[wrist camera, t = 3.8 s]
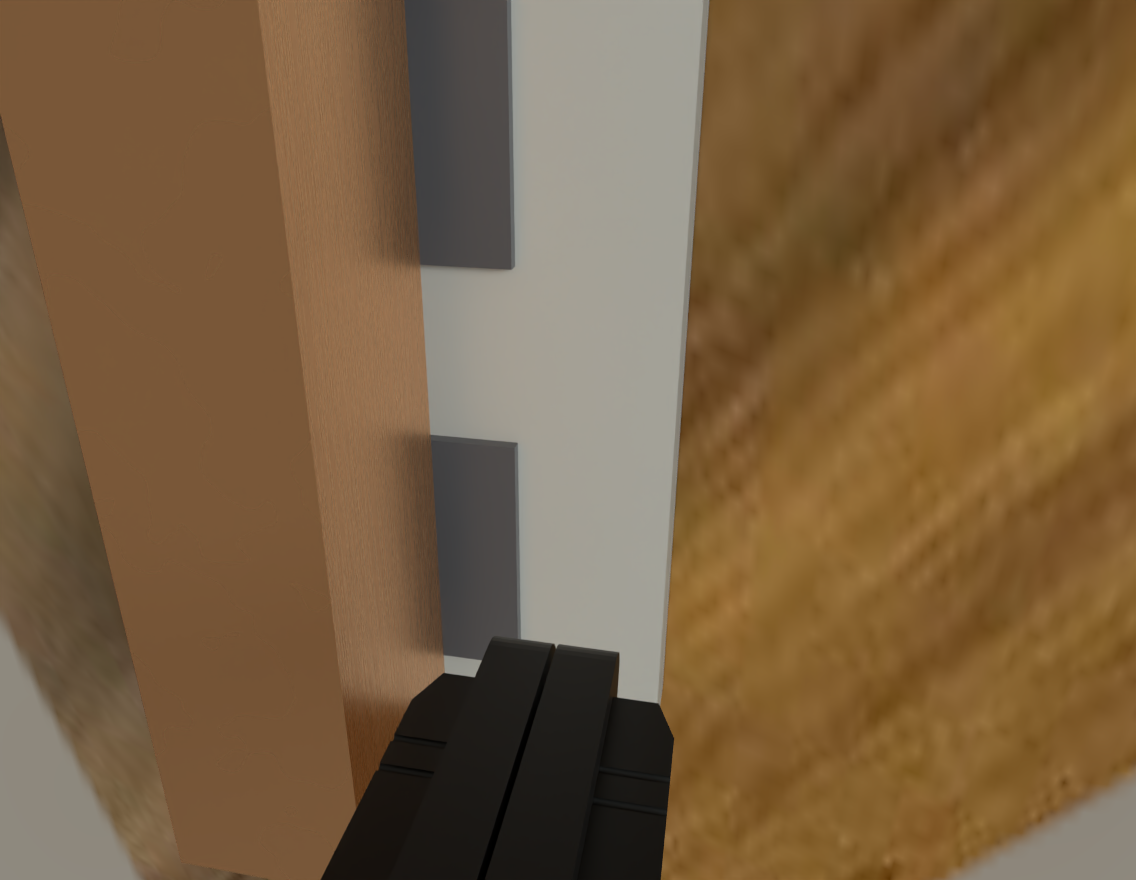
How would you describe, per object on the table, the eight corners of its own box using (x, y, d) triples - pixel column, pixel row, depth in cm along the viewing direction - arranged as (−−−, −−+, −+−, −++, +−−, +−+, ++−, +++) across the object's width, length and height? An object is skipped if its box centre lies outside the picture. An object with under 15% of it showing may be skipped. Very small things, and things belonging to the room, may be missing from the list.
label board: (766, -848, 13) (768, -1084, 10) (662, 687, 24) (650, 767, 22) (-63, -714, 15) (-239, -877, 12) (201, 624, 27) (139, 689, 24)
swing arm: (363, -943, 11) (82, -1641, 6) (455, 721, 22) (376, 899, 17) (46, -882, 12) (-405, -1468, 7) (289, 697, 22) (172, 860, 18)
